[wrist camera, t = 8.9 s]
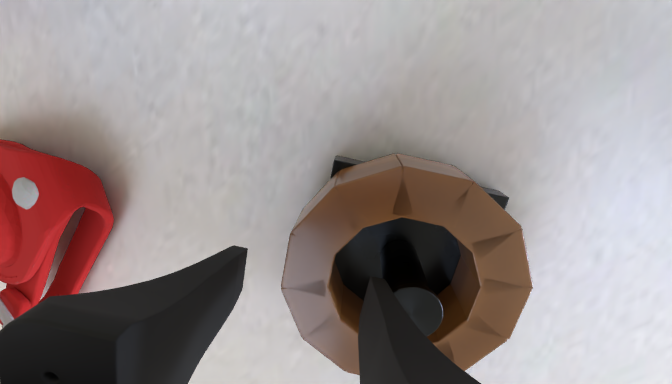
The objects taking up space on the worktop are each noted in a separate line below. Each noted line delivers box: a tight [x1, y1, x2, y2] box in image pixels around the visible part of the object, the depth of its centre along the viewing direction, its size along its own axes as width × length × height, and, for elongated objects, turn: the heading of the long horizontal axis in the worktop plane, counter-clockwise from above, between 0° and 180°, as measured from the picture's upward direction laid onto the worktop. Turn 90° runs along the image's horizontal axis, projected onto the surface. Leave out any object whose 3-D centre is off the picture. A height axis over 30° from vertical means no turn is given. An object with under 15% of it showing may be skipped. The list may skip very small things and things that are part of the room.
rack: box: [330, 156, 509, 337], centre depth 16 cm, size 9×9×6 cm
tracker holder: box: [0, 140, 114, 328], centre depth 18 cm, size 12×4×10 cm
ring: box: [281, 153, 533, 375], centre depth 16 cm, size 11×11×3 cm
